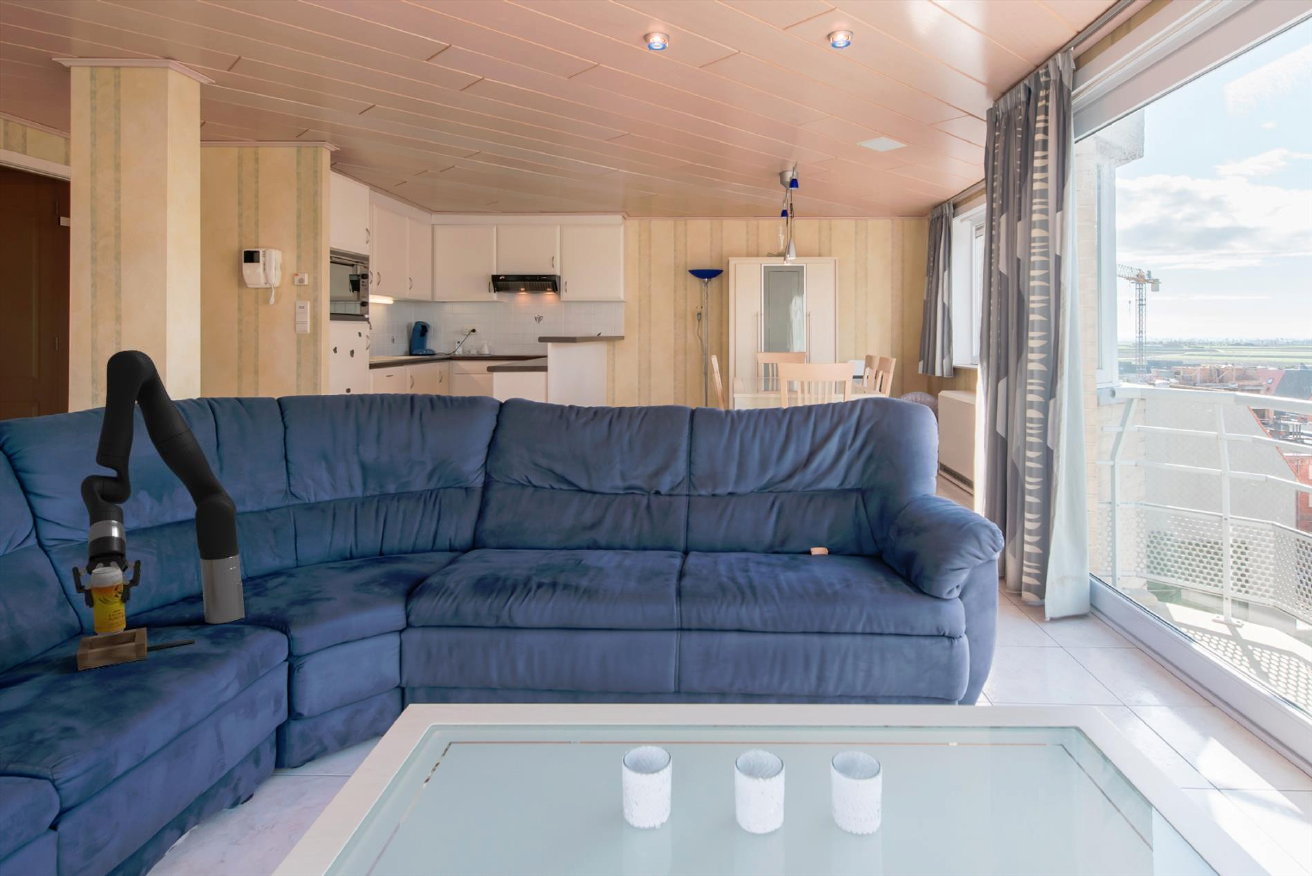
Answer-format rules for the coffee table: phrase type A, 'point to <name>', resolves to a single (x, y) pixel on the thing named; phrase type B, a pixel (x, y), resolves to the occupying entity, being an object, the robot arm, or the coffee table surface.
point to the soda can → (108, 600)
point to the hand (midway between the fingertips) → (108, 603)
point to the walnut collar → (116, 648)
